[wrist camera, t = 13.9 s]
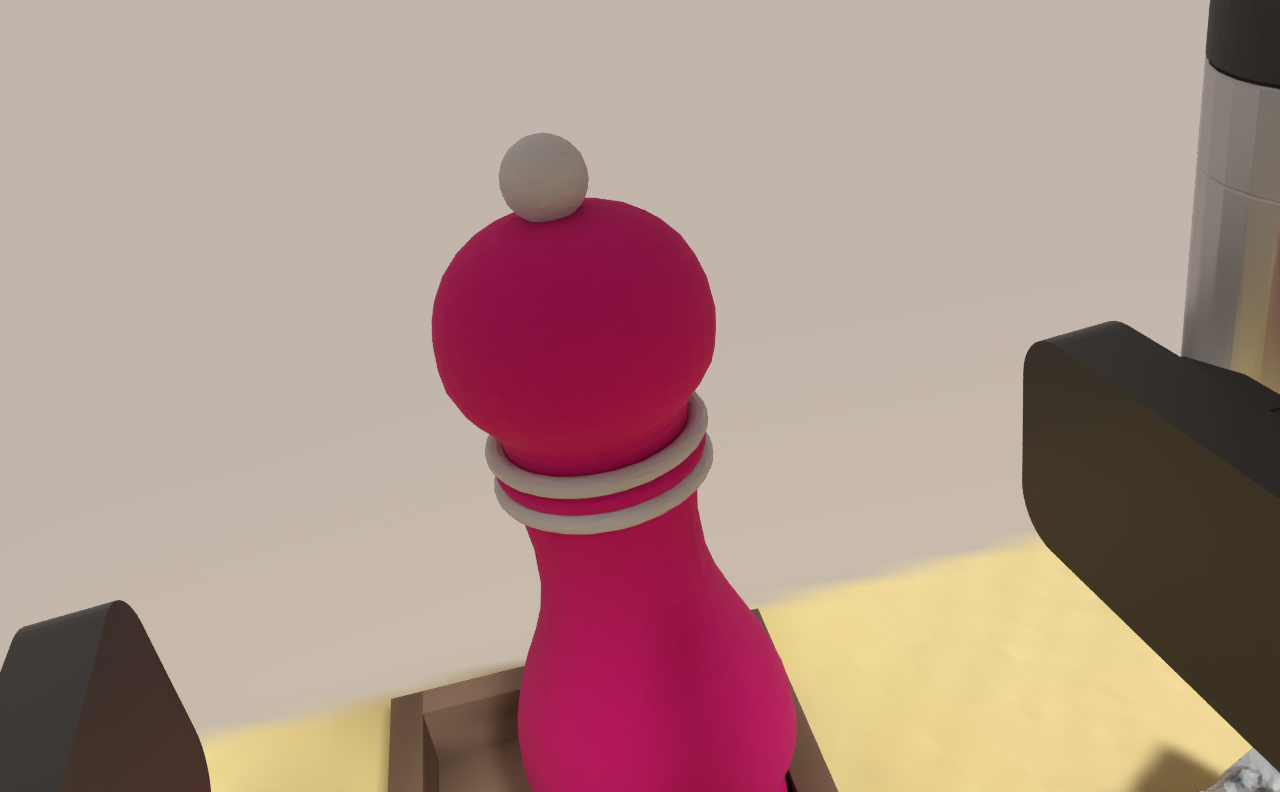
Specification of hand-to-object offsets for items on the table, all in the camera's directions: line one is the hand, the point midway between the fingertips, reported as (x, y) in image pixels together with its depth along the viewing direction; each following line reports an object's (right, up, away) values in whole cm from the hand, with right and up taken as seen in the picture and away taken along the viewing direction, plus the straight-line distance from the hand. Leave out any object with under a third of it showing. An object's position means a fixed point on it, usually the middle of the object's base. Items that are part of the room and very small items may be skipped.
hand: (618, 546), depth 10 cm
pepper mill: (+1, -11, +21) cm, 24 cm away
